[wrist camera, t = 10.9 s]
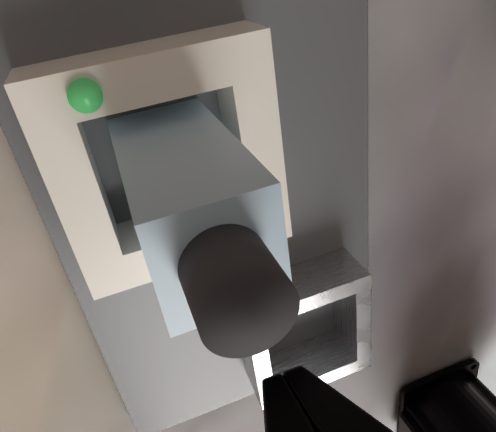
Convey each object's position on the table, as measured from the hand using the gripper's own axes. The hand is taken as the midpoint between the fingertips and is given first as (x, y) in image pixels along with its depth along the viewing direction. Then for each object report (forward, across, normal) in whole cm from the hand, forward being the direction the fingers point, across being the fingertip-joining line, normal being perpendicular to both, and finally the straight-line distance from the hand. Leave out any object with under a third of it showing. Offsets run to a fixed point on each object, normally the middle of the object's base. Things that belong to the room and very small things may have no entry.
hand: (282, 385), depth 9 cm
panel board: (+12, -2, +4) cm, 13 cm away
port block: (+11, 0, -1) cm, 11 cm away
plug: (+11, 0, -1) cm, 11 cm away
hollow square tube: (+11, -4, +10) cm, 15 cm away
